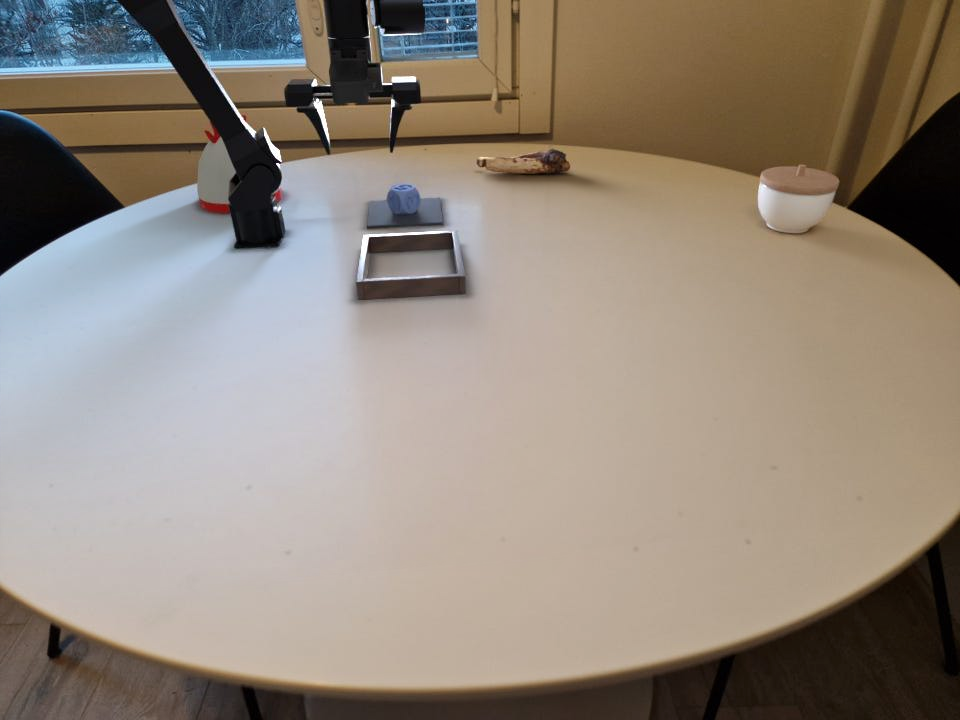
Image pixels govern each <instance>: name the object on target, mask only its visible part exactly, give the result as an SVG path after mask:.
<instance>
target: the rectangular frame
mask: <svg viewBox="0 0 960 720" xmlns="http://www.w3.org/2000/svg"><path fill="white" fill-rule="evenodd" d="M458 232H459V231H458V230H439V231H421V232H399V233H380V234H363V236H362V241H361V248H360V254H359V261H358V267H357V274H356V278H355V279H356V281H355V285H356V291H357V299H358V301H360V300H377V299H393V298H395V299H396V298H397V299H398V298H413V297H429V296H430V297H431V296H448V295H464V294H467V292H466V291H467V288H466V287H467V286H466V285H467V284H466V273H465V266H464V261H463V255H462V249H461V243H460V237H459V233H458ZM433 250H434V251H435V250H452V253H453V258H454V266H455V272H456V273H452V274H451V273H450V274H449V273H447V274H433V275H432V274H431V275H414V276H396V277H394V276H393V277H379V278H377V277H376V278H369V277H368V275H369V268H370V260H371V254H375V253H376V254H377V253H394V252H395V253H397V252H416V251H433Z"/></svg>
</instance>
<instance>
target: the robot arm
mask: <svg viewBox="0 0 960 720" xmlns="http://www.w3.org/2000/svg"><path fill="white" fill-rule="evenodd" d="M116 1H117V3H118V4H119V5H120V6H121V7H122V8H123V9H124V10H125V11H126V12H127V13H128V15H129V16H130V17H131V18H132V19H134V21H136V22H137V23H138V25H140V26H141V28H143V29H144V30H145V31H146V32H147V33H148V34H149V36H151V37H152V38H153V39H154V41H155V42H156V44H157V45H158V46H159V48H160V49H161V51H162V53H163V54H164V56H165V57H166V58H167V60H168V61H169V63H170V64H171V66H172V67H173V69H174V70H175V71H176V74H178V76H179V77H180V79H181V80H182V82H183V83H184V85H185V86H186V88H187V90H188V91H189V93H190V94H191V95H192V97H193V98H194V100H195V101H196V102H197V104H198V106H199V107H200V109H201V110H202V111H203V113H204V114H205V116H206V118H207V119H208V120H209V123H210V122H211V123H212V125H213V126H214V127H215V129H216V130H217V132H218V133H219V135H220V136H221V138H222V140H223V142H224V144H225V147H226V150H227V152H228V155H229V157H230V160H231V162H232V164H233V167H234V169H235V171H236V173H235V174H234V176H233V177H232V178H231V180H230V181H229V194H228V200H229V202H230V203H229V205H228V206H229V211H230V213H229V214H230V219H231V223H232V227H233V231H234V232H233V233H234V236H235V242H234V244H233V249H236V250H241V249H258V248H260V249H261V248H276V247H279V246H280V244H281V242H282V240H283V238H284V237H285V234H286V233H287V231H286V227H285V226H286V225H285V221H284V216H283V211H282V207H281V206H278V204H277V203H278V202H277V203H276V198H275V196H271V195H272V193H274V192H275V191H276V190H277V189H278V188H279V186H281V184H282V180H283V175H282V169H281V164H282V157H281V151H280V150H279V149H278V148H277V147H276V146H275V145H274V144H273V142H271V139H270V137H269V135H268V132H267V130H266V129H265V127H261V128H260V129H259V130H258V131H256V130H254V129H253V127H251V126H250V125H249V124H248V122H247V121H246V122H245V121H244V119H243V118H242V115H241V113H240V112H239V110H238V109H237V107H236V105H235V103H234V102H233V100H232V99H231V97H230V96H229V95H228V93H227V91H226V89H225V88H224V87H223V85H222V84H221V82H220V81H219V79H218V77H217V76H216V74H215V73H214V71H213V70H212V69H211V67H210V65H209V64H208V62H207V60H206V59H205V58H204V56H203V54H202V53H201V51H200V50H199V48H198V46H197V44H196V43H195V42H194V40H193V38H192V37H191V36H190V34H189V32H188V31H187V29H186V28H185V26H184V25H183V23H182V21H181V19H180V16H179V14H178V11H177V9H176V5H175V4H174V1H173V0H116ZM322 2H323V11H324V19H325V27H326V36H327V46H328V54H329V60H330V61H329V62H330V63H329V68H328V77H329V84H318V83H317V79H316V78H293V79H290V81H288V83H287V84H286V85H285V86H284V88H283V94H284V101H285V106H286V107H287V108H296V112H297V114H298V113H299V114H304V115H305V116H306V117H307V119H308V120H309V122H310V123H311V124H312V126H313V127H314V130H315V131H316V133H317V136H318V137H319V140H320V142H321V144H322V146H323V149H324V150H325V153H326V155H328V156H330V155H331V153H332V151H331V150H332V149H331V141H330V136H329V132H328V127H327V122H326V118H325V117H326V116H325V113H324V109H323V104H322V103H323V102H322V100H332V101H333V103H334V104H335V105H338V106H343V105H345V104H358V105H366V104H368V103H370V100H371V99H380V98H381V99H383V98H385V99H386V98H387V99H388V98H391V103H390V104H391V107H390V124H389V141H388V143H389V153H390V154H393V153H394V149H395V145H396V142H397V141H396V140H397V136H398V131H399V127H400V125H401V122H402V119H403V116H404V114H405V112H406V111H412V110H413V105H417V104H418V105H419V104H421V103H422V95H421V94H422V93H421V81H420V80H419V79H418V78H417V77H416V76H392V77H391V83H384V82H383V81H384V79H383V70H382V62H373V56H372V44H371V34H370V32H371V31H370V23H369V22H370V21H369V11H370V19H371V23H372V27H373V28H379V29H380V30H379V31H380V33H381V35H382V36H403V35H404V36H406V35H407V36H408V35H423V34H424V32H425V28H426V6H425V5H424V0H369V9H370V10H369V9H368V0H322Z"/></svg>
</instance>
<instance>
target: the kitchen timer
mask: <svg viewBox="0 0 960 720" xmlns="http://www.w3.org/2000/svg"><path fill="white" fill-rule="evenodd" d="M241 116H242V118H243V119H244V121H245V122H246V123H247V115H244V114H242V115H241ZM209 124H210V126H211V129H212V131H213V134H212V132H210V131H209V130H208V129H207V130H205V129H204V130H203V132H204V133H205V135H206V137H207V139H208V140H209V141H208V142H207V144H206V145H205V147H204V148H203V151H202V153H201V156H200V159H199V161H198V167H197V180H196V181H197V182H196V186H197V187H196V189H197V195H198V196H197V197H198V200H199V204H200V207H201V209H202V210H205V211H206V212H210V213H215V214H230V211H229V206H228V205H229V203H230V202H229V200H228V194H229V181H230V180H231V178H232V177H233V176H234V174H235V173H236V171H235V169H234V167H233V164H232V162H231V160H230V157H229V155H228V152H227V150H226V147H225V144H224V142H223V140H222V138H221V136H220V135H219V133H218V132H217V130H216V129H215V127H214V126H213V125H212V123H211V122H210V121H209ZM271 196H275V198H276V203H278V202H279V201H280V200H282V197H283V192H282V187H281V185H280V186H279V188H278V189H277V190H276V191H275V192H274V193H272V195H271Z"/></svg>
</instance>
